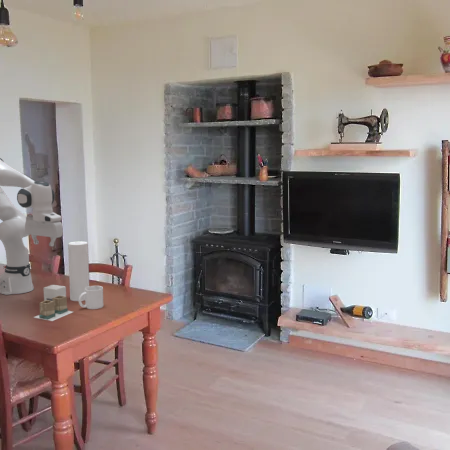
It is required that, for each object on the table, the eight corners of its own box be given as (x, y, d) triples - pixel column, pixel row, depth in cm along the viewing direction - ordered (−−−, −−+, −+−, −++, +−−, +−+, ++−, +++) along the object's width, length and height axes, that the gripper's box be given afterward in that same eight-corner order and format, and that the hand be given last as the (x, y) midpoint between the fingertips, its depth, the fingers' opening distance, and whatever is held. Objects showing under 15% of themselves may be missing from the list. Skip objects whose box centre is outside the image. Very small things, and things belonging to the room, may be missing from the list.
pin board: (33, 319, 232) (32, 306, 231) (55, 310, 244) (55, 298, 243) (52, 323, 227) (51, 310, 226) (73, 314, 240) (73, 301, 239)
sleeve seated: (52, 312, 238) (51, 298, 237) (59, 309, 242) (59, 295, 241) (60, 314, 236) (59, 299, 235) (67, 311, 240) (67, 296, 239)
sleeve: (39, 317, 231) (38, 302, 230) (47, 314, 235) (46, 299, 234) (47, 319, 229) (47, 304, 228) (55, 316, 233) (54, 301, 232)
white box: (43, 305, 252) (42, 287, 250) (53, 302, 258) (53, 284, 256) (56, 308, 248) (55, 290, 247) (66, 304, 255) (65, 286, 253)
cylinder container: (84, 304, 255) (82, 244, 251) (66, 302, 257) (64, 243, 253) (92, 298, 264) (91, 240, 260) (76, 297, 266) (74, 239, 262)
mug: (82, 314, 240) (81, 292, 238) (75, 309, 246) (74, 288, 245) (106, 309, 248) (105, 288, 246) (98, 305, 254) (98, 284, 252)
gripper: (21, 215, 244) (22, 244, 246) (54, 218, 235) (55, 248, 238) (31, 213, 249) (32, 241, 252) (64, 217, 241) (65, 246, 243)
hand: (43, 245), depth 244 cm, fingers open, 8 cm apart
